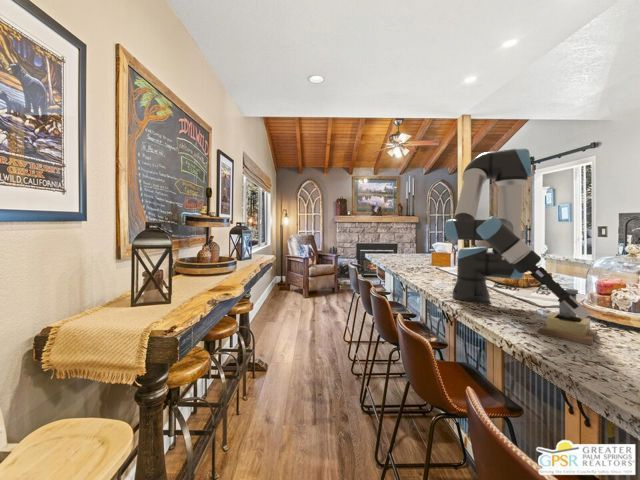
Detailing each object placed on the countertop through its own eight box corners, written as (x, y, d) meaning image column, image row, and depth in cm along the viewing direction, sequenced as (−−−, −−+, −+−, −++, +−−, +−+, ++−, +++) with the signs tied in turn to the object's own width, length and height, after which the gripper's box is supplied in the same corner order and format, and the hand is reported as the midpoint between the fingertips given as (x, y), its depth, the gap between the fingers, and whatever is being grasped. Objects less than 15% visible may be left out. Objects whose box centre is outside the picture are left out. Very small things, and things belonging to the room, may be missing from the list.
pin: (559, 325, 97) (559, 287, 97) (579, 329, 94) (579, 289, 93) (556, 329, 94) (556, 289, 94) (576, 332, 90) (576, 291, 90)
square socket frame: (552, 322, 100) (553, 312, 100) (589, 330, 93) (590, 318, 93) (546, 329, 94) (546, 317, 94) (585, 337, 87) (585, 324, 87)
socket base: (548, 325, 102) (548, 320, 102) (596, 335, 93) (597, 330, 93) (538, 333, 94) (539, 328, 94) (590, 345, 85) (591, 339, 85)
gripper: (507, 261, 111) (558, 308, 105) (514, 269, 89) (578, 330, 83) (526, 246, 108) (578, 294, 102) (537, 251, 86) (606, 313, 80)
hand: (579, 310), depth 92 cm, fingers open, 13 cm apart
